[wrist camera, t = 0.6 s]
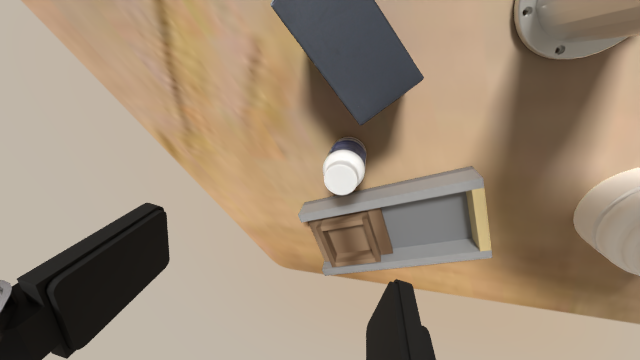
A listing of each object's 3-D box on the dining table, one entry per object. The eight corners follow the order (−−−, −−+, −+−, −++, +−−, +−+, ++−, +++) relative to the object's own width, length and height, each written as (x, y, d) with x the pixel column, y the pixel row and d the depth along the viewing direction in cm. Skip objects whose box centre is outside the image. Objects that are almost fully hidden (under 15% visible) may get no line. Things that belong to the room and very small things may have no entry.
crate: (378, 200, 37) (379, 213, 34) (392, 247, 41) (394, 263, 37) (309, 214, 41) (303, 226, 38) (326, 256, 44) (323, 271, 41)
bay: (471, 166, 33) (483, 177, 30) (481, 239, 38) (492, 257, 34) (304, 202, 42) (298, 215, 38) (328, 259, 46) (324, 275, 43)
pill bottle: (330, 136, 36) (316, 158, 27) (366, 135, 35) (364, 158, 26) (331, 169, 38) (319, 199, 29) (366, 170, 37) (363, 201, 28)
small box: (303, 24, 30) (265, 2, 20) (346, -22, 28) (328, -78, 17) (364, 108, 33) (360, 127, 23) (409, 73, 30) (428, 77, 20)
